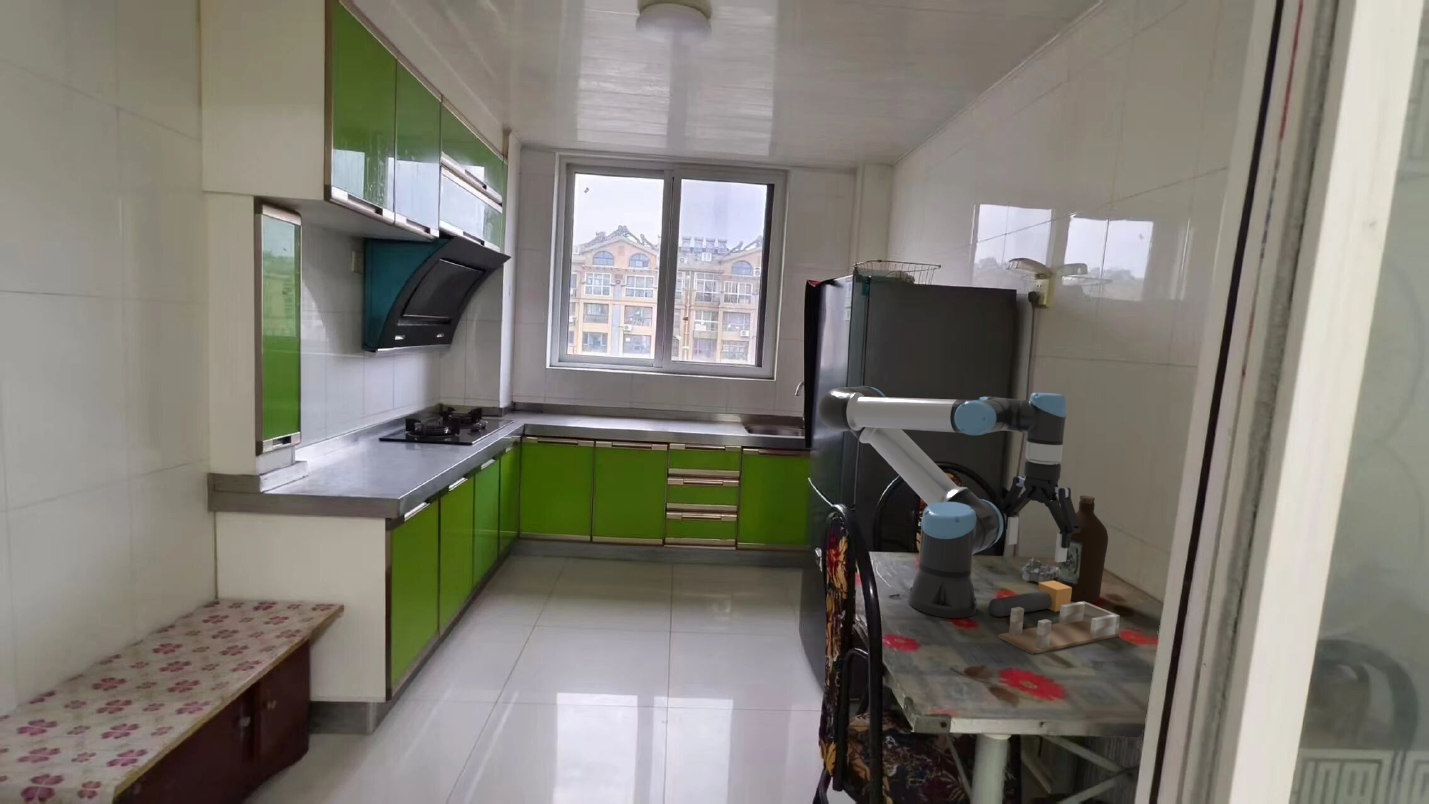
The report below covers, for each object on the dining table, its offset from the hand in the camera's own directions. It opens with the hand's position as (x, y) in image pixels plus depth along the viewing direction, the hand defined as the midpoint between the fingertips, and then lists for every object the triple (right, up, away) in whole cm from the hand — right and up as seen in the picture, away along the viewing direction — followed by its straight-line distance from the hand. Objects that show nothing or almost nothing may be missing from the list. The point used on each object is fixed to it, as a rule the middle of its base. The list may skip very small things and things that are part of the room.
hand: (1034, 552), depth 166 cm
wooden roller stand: (-1, -15, -13) cm, 20 cm away
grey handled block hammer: (-1, -14, +1) cm, 14 cm away
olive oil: (+16, -14, +13) cm, 25 cm away
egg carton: (+12, -12, +25) cm, 31 cm away
